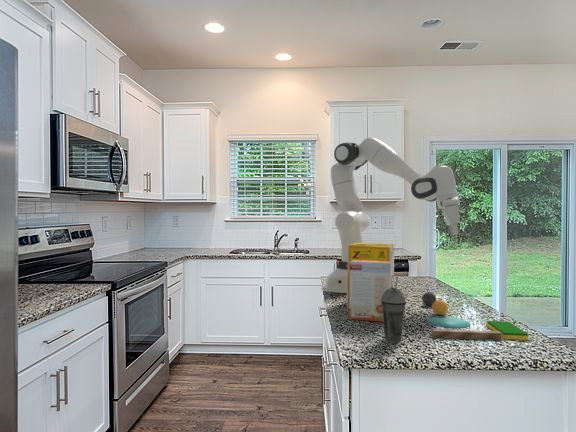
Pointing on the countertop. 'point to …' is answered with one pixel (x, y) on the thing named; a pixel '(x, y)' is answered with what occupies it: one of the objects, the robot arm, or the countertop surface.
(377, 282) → the cracker box
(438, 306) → the orange ball
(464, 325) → the teal mark
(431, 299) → the dark gray ball
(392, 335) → the beverage cup
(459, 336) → the brown wooden bar
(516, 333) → the dish sponge
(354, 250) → the packaging box
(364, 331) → the countertop surface
